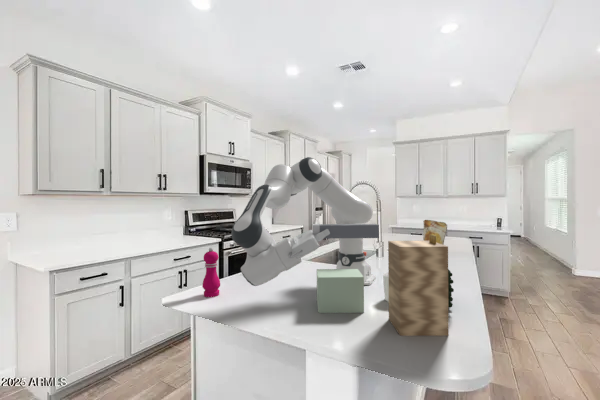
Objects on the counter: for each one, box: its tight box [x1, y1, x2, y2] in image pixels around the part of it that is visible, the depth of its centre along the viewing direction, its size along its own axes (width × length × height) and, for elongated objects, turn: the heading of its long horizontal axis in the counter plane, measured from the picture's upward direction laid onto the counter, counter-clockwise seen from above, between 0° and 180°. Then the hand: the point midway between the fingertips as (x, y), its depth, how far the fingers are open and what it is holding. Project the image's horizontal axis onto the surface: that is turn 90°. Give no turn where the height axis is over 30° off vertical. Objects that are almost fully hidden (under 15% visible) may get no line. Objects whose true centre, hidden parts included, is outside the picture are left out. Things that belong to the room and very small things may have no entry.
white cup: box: [382, 272, 389, 303], centre depth 119 cm, size 8×8×10 cm
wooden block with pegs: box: [387, 235, 449, 337], centre depth 95 cm, size 14×12×28 cm
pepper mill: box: [201, 247, 221, 298], centre depth 128 cm, size 7×7×20 cm
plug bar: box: [312, 223, 380, 240], centre depth 95 cm, size 20×4×4 cm, turn 89°
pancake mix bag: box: [422, 219, 448, 245], centre depth 155 cm, size 7×19×28 cm, turn 4°
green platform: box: [316, 268, 365, 314], centre depth 113 cm, size 16×12×12 cm
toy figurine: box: [448, 268, 455, 308], centre depth 117 cm, size 9×19×25 cm
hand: (328, 229), depth 95 cm, fingers closed on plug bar, 4 cm apart
